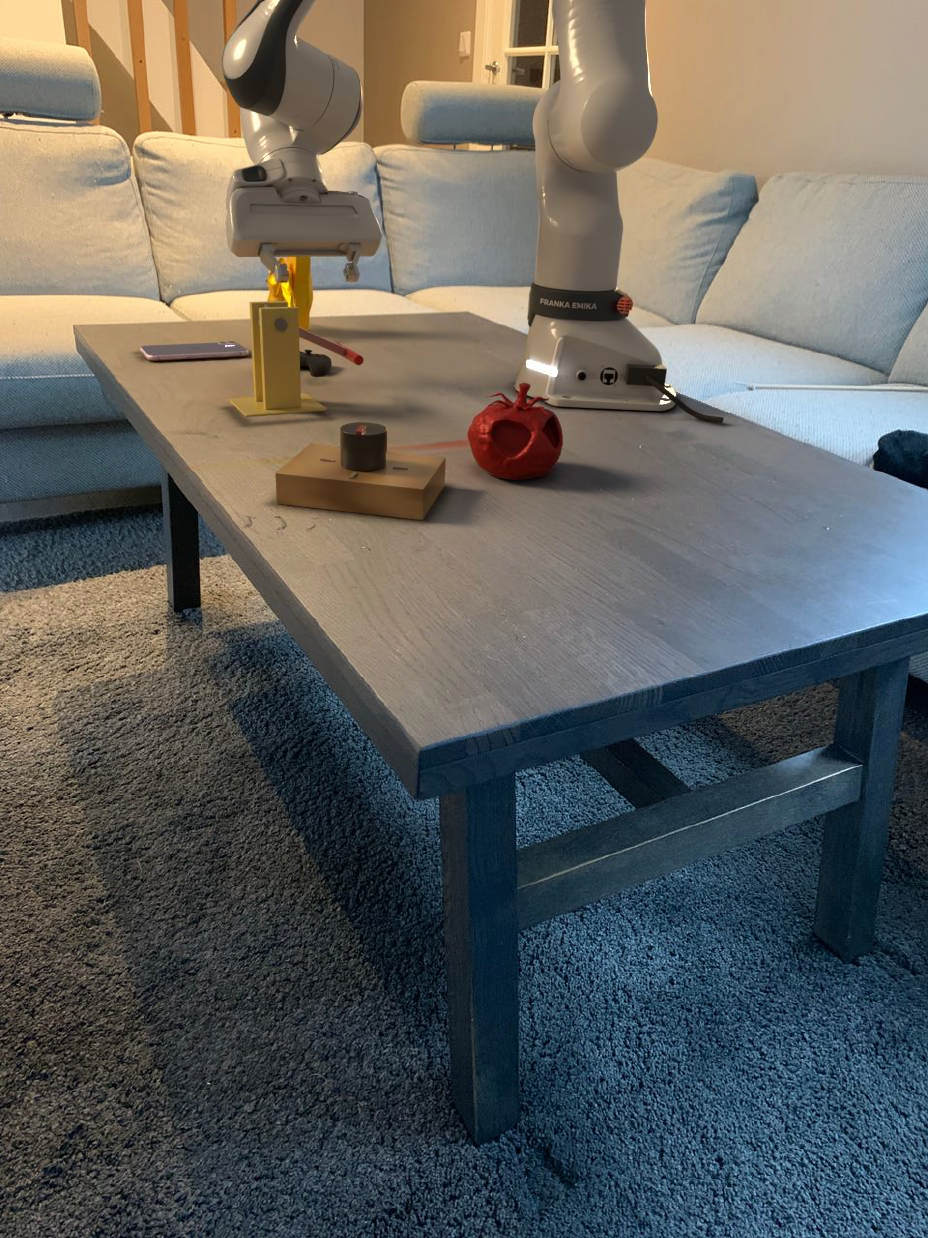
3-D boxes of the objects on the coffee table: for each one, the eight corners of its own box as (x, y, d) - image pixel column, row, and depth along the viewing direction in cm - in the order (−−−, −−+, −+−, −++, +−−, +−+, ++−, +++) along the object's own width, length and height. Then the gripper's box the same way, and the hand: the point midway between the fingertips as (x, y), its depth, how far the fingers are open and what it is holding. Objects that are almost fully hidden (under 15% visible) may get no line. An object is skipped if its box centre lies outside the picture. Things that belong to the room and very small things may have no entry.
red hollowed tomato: (451, 460, 104) (455, 374, 100) (534, 453, 108) (541, 370, 104) (490, 490, 96) (496, 397, 92) (577, 481, 100) (587, 392, 96)
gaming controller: (256, 368, 134) (271, 333, 136) (272, 390, 139) (287, 355, 141) (317, 377, 131) (332, 341, 133) (331, 399, 136) (345, 364, 138)
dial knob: (346, 455, 94) (346, 417, 92) (390, 459, 94) (391, 420, 92) (335, 469, 90) (334, 429, 89) (381, 473, 90) (381, 433, 88)
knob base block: (444, 485, 97) (445, 455, 95) (422, 520, 88) (423, 487, 87) (311, 471, 99) (310, 441, 97) (276, 503, 90) (275, 471, 89)
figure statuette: (257, 323, 170) (250, 186, 160) (301, 322, 173) (297, 187, 163) (280, 343, 155) (274, 194, 145) (327, 341, 158) (325, 195, 148)
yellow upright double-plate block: (306, 402, 123) (304, 298, 117) (327, 418, 117) (326, 309, 111) (229, 407, 119) (222, 300, 113) (246, 424, 113) (240, 311, 107)
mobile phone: (137, 344, 144) (237, 339, 150) (138, 350, 145) (237, 346, 151) (147, 354, 138) (250, 349, 144) (148, 361, 139) (250, 356, 145)
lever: (336, 357, 122) (344, 339, 122) (359, 371, 116) (367, 352, 116) (250, 319, 116) (257, 300, 115) (269, 331, 109) (277, 311, 109)
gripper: (361, 208, 134) (386, 293, 131) (213, 206, 125) (237, 296, 122) (373, 175, 128) (400, 262, 125) (219, 170, 120) (244, 263, 117)
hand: (318, 279), depth 124 cm, fingers open, 8 cm apart
